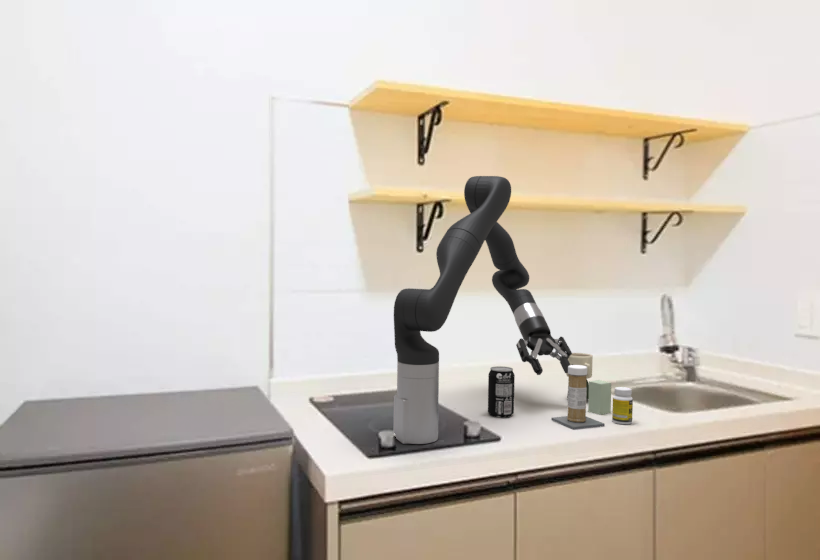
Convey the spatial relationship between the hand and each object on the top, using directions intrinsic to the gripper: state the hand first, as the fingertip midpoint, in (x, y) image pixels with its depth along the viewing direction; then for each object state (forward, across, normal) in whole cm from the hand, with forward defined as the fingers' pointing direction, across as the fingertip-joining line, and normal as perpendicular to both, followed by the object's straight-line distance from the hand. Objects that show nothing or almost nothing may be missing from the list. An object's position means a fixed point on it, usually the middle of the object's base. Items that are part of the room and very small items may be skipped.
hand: (554, 372), depth 166 cm
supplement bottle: (+17, +11, -2) cm, 20 cm away
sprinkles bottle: (+14, 0, 0) cm, 14 cm away
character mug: (+1, +15, +15) cm, 21 cm away
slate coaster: (+15, 0, 0) cm, 15 cm away
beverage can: (+6, -14, +9) cm, 18 cm away
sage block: (+10, +12, +5) cm, 16 cm away
